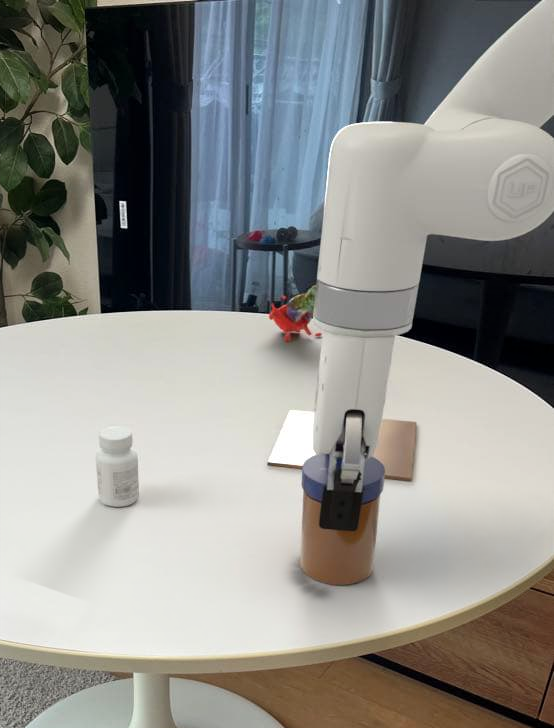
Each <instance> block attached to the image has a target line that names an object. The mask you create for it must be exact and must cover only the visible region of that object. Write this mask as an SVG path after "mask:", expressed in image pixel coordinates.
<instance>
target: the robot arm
mask: <svg viewBox="0 0 554 728" xmlns="http://www.w3.org/2000/svg"><path fill="white" fill-rule="evenodd" d="M553 116H554V0H540V1H539V2H538V3H537V4H536V5H534V6H533V8H531V9H530V10H528V11H527V12H526V13H525V14H524V15H523V16H522V17H521V18H520V19H519V20H517V21H516V22H515V23H514V24H512V26H511V27H509V28H508V29H507V30H506V31H505V32H504V33H503V34H502V35H501V36H500V37H499V38H497V40H496V41H494V43H493V44H492V45H491V46H490V47H488V49H487V50H486V51H485V52H484V53H483V54H482V55H481V56H480V57H479V58H478V59H477V60H476V61H475V63H474V64H473V65H472V66H471V67H470V68H469V69H468V70H467V72H466V73H465V74H464V75H463V77H461V79H460V80H459V81H458V82H457V83H456V85H455V86H454V87H453V88H452V89H451V91H450V92H449V93H448V94H447V96H446V97H445V98H444V99H443V100H442V101H441V103H440V104H439V105H438V106H437V107H436V109H435V110H434V111H433V112H432V114H431V115H430V116H429V118H428V119H426V121H425V123H424V124H422V123H416V122H403V121H367V122H359V123H352V124H349V125H346V126H344V127H343V128H341V129H340V130H339V131H338V132H337V133H336V134H335V136H334V138H333V140H332V142H331V145H330V151H329V157H328V167H327V177H326V188H325V194H324V195H325V197H324V206H323V216H322V227H321V235H320V245H319V256H318V263H317V274H316V282H315V283H316V284H315V285H316V292H315V302H314V313H313V315H312V323H313V325H314V326H316V327H317V328H319V329H321V330H323V335H322V341H321V350H320V354H319V355H320V356H319V363H318V372H317V379H316V380H317V381H316V388H315V389H316V390H315V399H314V405H313V406H314V407H313V412H314V413H313V450H314V452H315V453H316V454H317V455H320V456H321V453H322V454H329V456H330V458H329V469H328V479H327V484H324V485H323V493H322V501H321V509H320V517H319V527H320V528H322V529H330V530H342V531H356V530H357V529H358V523H359V517H360V510H361V504H362V497H363V491H364V488H363V487H362V486H363V476H364V465H365V458H366V459H368V458H370V457H371V456H373V455H374V454H375V450H376V446H377V442H378V437H379V432H380V427H381V421H382V419H383V416H384V410H385V403H386V398H387V392H388V391H387V390H388V385H389V380H390V379H389V378H390V373H391V372H390V371H391V366H392V359H393V352H394V351H393V350H394V344H395V338H396V336H398V335H403V334H406V333H408V332H410V330H411V329H412V327H413V321H414V320H413V319H414V315H415V309H416V303H417V298H418V293H419V292H418V291H419V285H420V281H421V275H422V274H421V273H422V270H423V269H422V268H423V262H424V256H425V251H426V244H427V239H428V236H429V235H437V236H446V237H453V238H460V239H466V240H467V239H468V240H474V241H475V240H476V241H484V242H498V241H506V240H512V239H514V238H517V237H520V236H523V235H525V234H527V233H529V232H531V231H533V230H535V229H536V228H538V227H539V226H540V225H541V224H543V223H544V222H545V221H546V220H547V219H548V218H549V217H550V216H551V215H552V213H554V137H553V136H552V135H551V134H550V133H548V132H547V131H545V130H543V129H542V128H541V127H542V126H543V125H544V124H545V123H547V122H548V121H549V119H551V118H552V117H553ZM337 459H342V464H341V467H338V468H337V471H336V461H337Z"/></svg>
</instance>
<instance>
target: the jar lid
mask: <svg viewBox="0 0 554 728" xmlns="http://www.w3.org/2000/svg"><path fill="white" fill-rule="evenodd" d="M329 458H330V456H329V454H322V453H321V456H320V455H317V454H316V455H314V456H312V457H310V458H308V459H307V460H306V461H305V462H304V464H303V466H302V469H301V488H302V490H304V492H305V493H306V494H308V495H309V496H310V497H312V498H314V499H316V500H319V501H322V493H323V485H324V484H327V479H328V469H329ZM341 464H342V459H337V461H336V471H337V468H338V467H341ZM384 477H385V468H384V466H383V464H382V463H381V462H380V461H379V460H377V459H376V458H374V457H372V456H371V457H370V458H368V459H366V458H365V465H364V476H363V486H362V487H363V488H364V491H363V497H362V503H365V502H368V501H371V500H373V499H375V498H377V497H378V496H379V495H380V494H382V493H383V492H384V487H385V478H384Z"/></svg>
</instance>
